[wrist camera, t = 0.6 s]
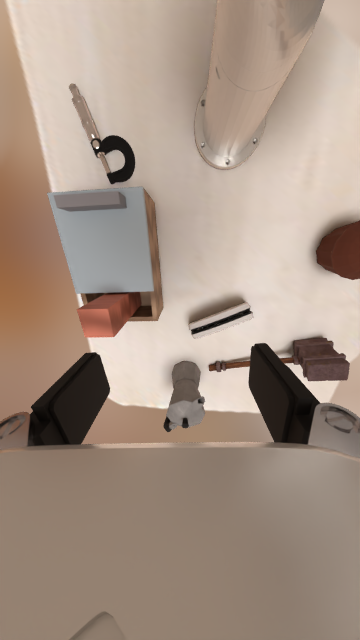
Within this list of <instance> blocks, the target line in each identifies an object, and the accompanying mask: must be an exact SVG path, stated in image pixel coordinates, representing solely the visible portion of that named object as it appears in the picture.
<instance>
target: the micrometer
mask: <svg viewBox="0 0 360 640" xmlns="http://www.w3.org/2000/svg"><path fill="white" fill-rule="evenodd" d="M69 89H70V91H71V93H72V95H73V98H72V101H73V104H74V106H75V108H76V110H77V113H78V115H79V117H80V120H81V122H82V125H83V127H84V129H85V131H86V134H87V136H88V138H89V140H90V141H91V145H92V148H93V150H94V152H95V155H96V157H97V158H100V159H101V161H102V163H103V166H104V168H105V170H106V173H107V176H108V179H109V181H110V183H111V184H114V183H115V182H124V181H126V180H128V179H129V178H130V177H131V176H132V174H133V172H134V168H135V157H134V153H133V151H132V148H131V147H130V145H129V144H128V143H127V142H126V141H125V140H124V139H123V138H121V137H119V136H115V135H112V136H108V137H106V138H105V139H103V141H102V142H101V140H100V139H99V135H98V132H97V130H96V127H95V124H94V122H93V119H92V118H91V115H90V113H89V110H88V108H87V105H86V102H85V100H84V97H83V96H81V95H79V92H78V89H77V86H76V85H75V84H70V86H69ZM112 150H119V151H121V152H122V153H123V155H124V157H125V165H124V167H123V168H122V169H120V170H118V171H115V172H113V173H111V172H110V170H109V167H108V165H107V162H106V160H105V158H104V155H106V153H108V152H110V151H112Z"/></svg>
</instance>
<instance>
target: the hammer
mask: <svg viewBox="0 0 360 640" xmlns="http://www.w3.org/2000/svg"><path fill="white" fill-rule="evenodd" d="M345 359H346V355H344V354H343V353H341V354H338V353H337V352H336V351H335V350H334V349H333V342H332V341H328V340H327V338H317V339H306V340H296V341H294V356H292V358H280V360H281V361H282V362H283V363H294V365H299V364H300V365H301V367H302V368H303V376H304V378H305V377H307V379H308V381H326V380H329V381H335V380H347V379H348V374H349V365H350V363H349V362H348V361H346V360H345ZM248 366H250V361H243V362H234V363H222V364H220V362H216V365H209V371H215V370H217V372H221V370H222V369H223V370H224V371H225V370H226V369H230V368H239V367H248Z"/></svg>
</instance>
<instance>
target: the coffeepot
mask: <svg viewBox="0 0 360 640" xmlns="http://www.w3.org/2000/svg"><path fill="white" fill-rule="evenodd" d="M200 373H201V372H200V370H199V368H198V367H197V365H196V364H195V363H192V362H188V361H183V362H180V363H178V364H177V365H175V366H174V369H173V372H172V379H173V388H174V390H173V394H172V397H171V401H170V404H169V408H168V411H167V414H166V420H165V422H164V428H165V430H166V431H167V432H170V431H171V430H172V429H174V428H176V427H177V425H179V426H182V427H183V428H188V427H191V426H194V425H197V424H200V423H201V421H202V419H203V417H204V415H205V411H204V407H203V404H204V402H205V399H204V397H203V396H202V397H201V396H200V392H199V391H198V387H199V380H200Z"/></svg>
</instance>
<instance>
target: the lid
mask: <svg viewBox="0 0 360 640" xmlns="http://www.w3.org/2000/svg"><path fill="white" fill-rule="evenodd" d="M47 194H48V197H49V200H50V204H51V208H52V211H53V214H54V218H55V221H56V225H57V228H58V231H59V235H60V238H61V242H62V246H63V249H64V252H65V256H66V259H67V263H68V266H69V270H70V273H71V277H72V280H73V284H74V287H75V291H76V294H78V293H112V292H147V291H154V283H153V273H152V263H151V254H150V244H149V234H148V224H147V214H146V204H145V195H144V188H143V187H128V188H113V189H98V190H83V191H68V192H53V193H47Z"/></svg>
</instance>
